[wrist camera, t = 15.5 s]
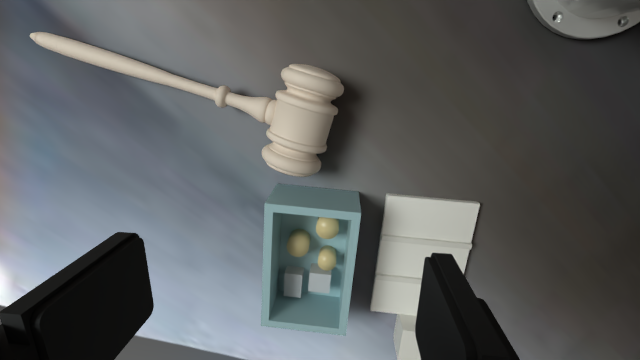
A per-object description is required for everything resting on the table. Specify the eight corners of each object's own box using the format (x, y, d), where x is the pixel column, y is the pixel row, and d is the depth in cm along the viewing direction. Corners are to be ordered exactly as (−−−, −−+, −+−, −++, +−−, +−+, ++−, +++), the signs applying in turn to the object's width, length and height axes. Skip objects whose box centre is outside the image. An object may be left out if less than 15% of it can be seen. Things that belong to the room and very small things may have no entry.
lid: (477, 201, 35) (491, 213, 32) (444, 343, 41) (453, 366, 38) (386, 192, 36) (390, 204, 33) (366, 334, 41) (368, 356, 38)
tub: (358, 191, 36) (361, 213, 30) (345, 299, 40) (345, 335, 34) (277, 183, 36) (264, 203, 31) (272, 290, 41) (261, 325, 35)
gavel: (57, 86, 38) (321, 172, 36) (0, 85, 32) (312, 189, 30) (61, -11, 35) (350, 78, 33) (-1, -31, 29) (346, 75, 27)
